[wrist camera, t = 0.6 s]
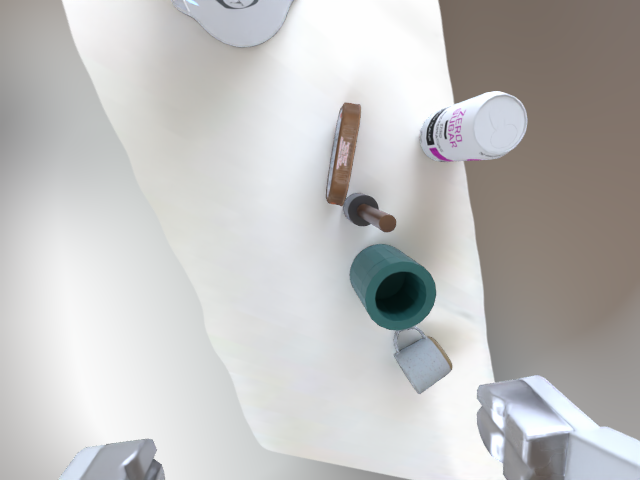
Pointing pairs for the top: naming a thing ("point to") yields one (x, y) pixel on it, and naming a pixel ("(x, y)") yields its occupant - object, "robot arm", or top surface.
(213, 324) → the top surface
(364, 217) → the dish brush
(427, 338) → the ceramic mug
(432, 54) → the top surface
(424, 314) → the teal pen holder
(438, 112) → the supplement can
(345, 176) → the tin
